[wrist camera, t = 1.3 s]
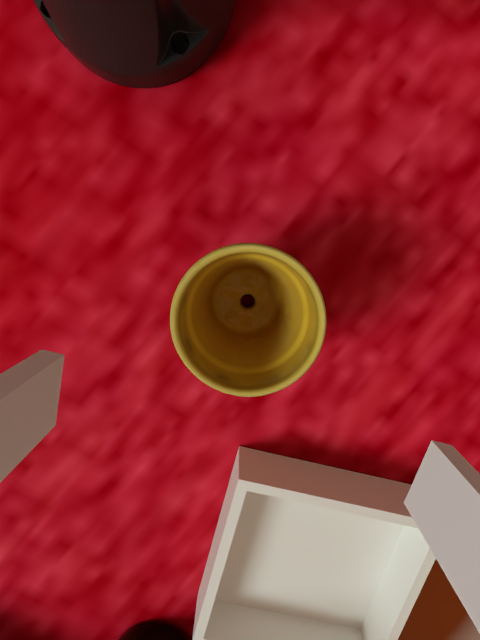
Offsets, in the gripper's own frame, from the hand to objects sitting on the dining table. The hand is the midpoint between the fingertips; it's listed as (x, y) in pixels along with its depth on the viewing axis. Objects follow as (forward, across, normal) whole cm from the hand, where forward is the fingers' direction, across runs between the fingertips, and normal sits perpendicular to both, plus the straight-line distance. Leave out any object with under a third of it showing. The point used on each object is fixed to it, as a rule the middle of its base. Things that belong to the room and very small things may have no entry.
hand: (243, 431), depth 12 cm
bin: (+20, +13, -24) cm, 34 cm away
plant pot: (+21, 0, +1) cm, 21 cm away
